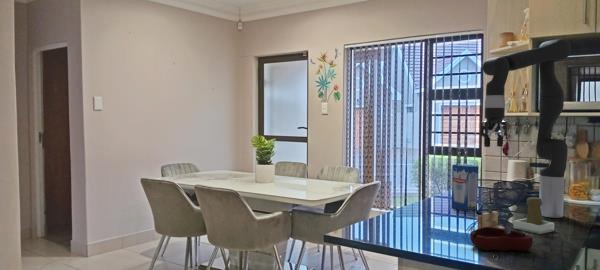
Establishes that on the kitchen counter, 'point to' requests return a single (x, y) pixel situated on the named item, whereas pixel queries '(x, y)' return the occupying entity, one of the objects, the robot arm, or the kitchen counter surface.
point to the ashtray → (500, 240)
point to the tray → (533, 226)
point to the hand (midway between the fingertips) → (493, 146)
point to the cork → (534, 211)
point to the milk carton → (464, 187)
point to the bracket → (489, 219)
